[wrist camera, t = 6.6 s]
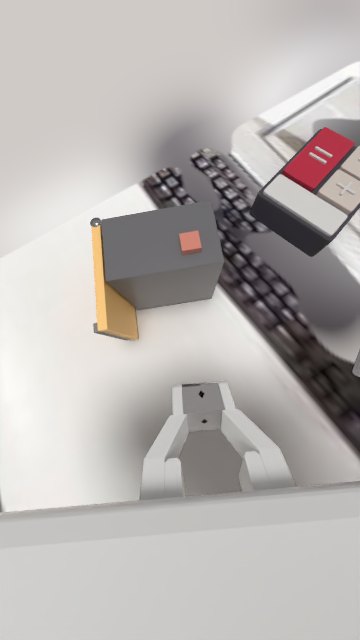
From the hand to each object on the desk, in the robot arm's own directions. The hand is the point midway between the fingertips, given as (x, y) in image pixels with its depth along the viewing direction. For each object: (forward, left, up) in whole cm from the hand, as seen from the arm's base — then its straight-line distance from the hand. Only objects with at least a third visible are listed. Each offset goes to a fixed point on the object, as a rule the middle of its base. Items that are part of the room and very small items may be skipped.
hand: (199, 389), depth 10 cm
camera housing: (+12, +1, -13) cm, 18 cm away
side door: (+10, +7, -13) cm, 18 cm away
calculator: (+22, -21, -14) cm, 33 cm away
